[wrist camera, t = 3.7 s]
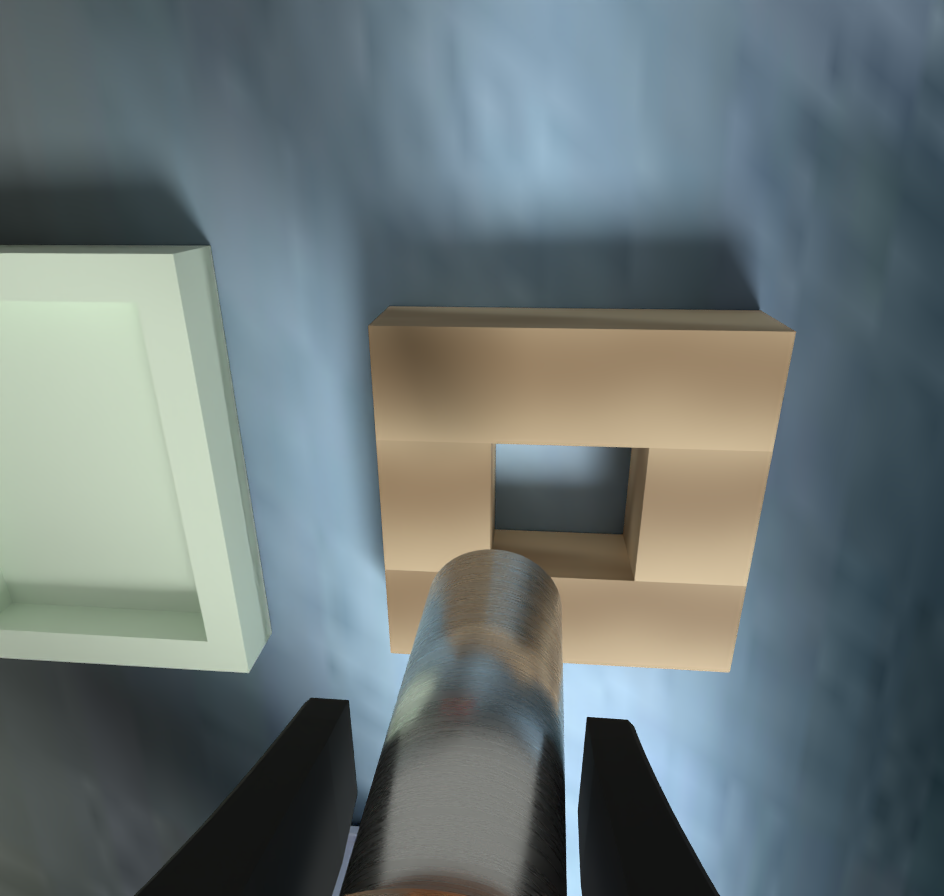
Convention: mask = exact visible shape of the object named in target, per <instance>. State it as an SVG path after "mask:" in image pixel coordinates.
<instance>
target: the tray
mask: <svg viewBox="0 0 944 896" xmlns="http://www.w3.org/2000/svg"><path fill="white" fill-rule="evenodd" d="M271 634H272V630H271V624H270V618H269V612H268V605H267V599H266V593H265V586H264V580H263V574H262V567H261V561H260V555H259V549H258V542H257V536H256V530H255V523H254V517H253V511H252V504H251V498H250V492H249V486H248V479H247V473H246V467H245V460H244V454H243V448H242V441H241V435H240V429H239V423H238V416H237V410H236V404H235V397H234V391H233V385H232V378H231V372H230V366H229V360H228V353H227V347H226V341H225V334H224V328H223V322H222V315H221V309H220V303H219V297H218V290H217V284H216V278H215V271H214V265H213V259H212V252H211V246H170V245H0V658H11V659H27V660H44V661H60V662H77V663H93V664H110V665H126V666H143V667H159V668H175V669H192V670H208V671H225V672H241V673H249V672H250V670H251V669H252V667H253V665H254V663H255V662H256V660H257V658H258V656H259V655H260V653H261V651H262V649H263V648H264V646H265V644H266V642H267V641H268V639H269V637H270V635H271Z"/></svg>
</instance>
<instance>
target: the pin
mask: <svg viewBox="0 0 944 896" xmlns="http://www.w3.org/2000/svg"><path fill="white" fill-rule="evenodd" d="M339 896H567V880H566V824H565V767H564V711H563V654H562V604H561V598H560V594H559V591H558V589H557V587H556V585H555V583H554V582H553V580H552V579H551V577H550V576H549V575H548V574H547V573H546V572H545V571H544V570H543V569H542V568H541V567H540V566H539V565H537V564H536V563H534V562H533V561H531V560H530V559H528V558H526V557H524V556H521V555H519V554H516V553H513V552H509V551H504V550H496V549H485V550H476V551H472V552H468V553H465V554H462V555H460V556H458V557H456V558H454V559H453V560H451V561H450V562H448V563H447V564H446V565H445V566H443V567H442V568H441V569H440V571H439V572H438V573H437V574H436V576H435V578H434V580H433V581H432V584H431V587H430V590H429V593H428V597H427V600H426V603H425V607H424V610H423V613H422V617H421V620H420V624H419V627H418V630H417V634H416V637H415V640H414V644H413V647H412V651H411V654H410V657H409V661H408V664H407V667H406V671H405V674H404V678H403V681H402V684H401V688H400V691H399V694H398V698H397V701H396V705H395V708H394V711H393V715H392V718H391V721H390V725H389V728H388V732H387V735H386V738H385V742H384V745H383V748H382V752H381V755H380V759H379V762H378V765H377V769H376V772H375V775H374V779H373V782H372V786H371V789H370V792H369V796H368V799H367V802H366V806H365V809H364V813H363V816H362V819H361V823H360V826H359V829H358V833H357V836H356V840H355V843H354V846H353V850H352V853H351V856H350V860H349V863H348V867H347V870H346V873H345V877H344V880H343V883H342V887H341V890H340V894H339Z"/></svg>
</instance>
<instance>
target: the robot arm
mask: <svg viewBox="0 0 944 896" xmlns="http://www.w3.org/2000/svg"><path fill="white" fill-rule="evenodd" d="M356 798H357V782H356V772H355V761H354V750H353V740H352V729H351V719H350V708H349V700H337V699H323V698H310V699H309V700H308V701H307V702H305V703H304V705H303V706H302V707H301V708H300V710H299V711H298V712H297V714H296V715H295V716H294V717H293V719H292V720H291V721H290V722H289V724H288V725H287V726H286V727H285V729H284V730H283V731H282V732H281V734H280V735H279V736H278V737H277V739H276V740H275V741H274V742H273V744H272V745H271V746H270V747H269V748H268V750H267V751H266V752H265V753H264V754H263V756H262V757H261V758H260V759H259V760H258V762H257V763H256V764H255V765H254V766H253V768H252V769H251V770H250V771H249V772H248V774H247V775H246V776H245V777H244V778H243V779H242V781H241V782H240V783H239V784H238V785H237V786H236V787H235V789H234V790H233V791H232V792H231V793H230V794H229V795H228V797H227V798H226V799H225V800H224V801H223V802H222V803H221V805H220V806H219V807H218V808H217V809H216V810H215V811H214V813H213V814H212V815H211V816H210V817H209V818H208V819H207V820H206V821H205V823H204V824H203V825H202V826H201V827H200V828H199V829H198V830H197V831H196V832H195V833H194V834H193V835H192V836H191V837H190V838H189V840H188V841H187V842H186V843H185V844H184V845H183V846H182V847H181V848H180V849H179V850H178V851H177V852H176V853H175V854H174V855H173V856H172V857H171V858H170V859H169V861H168V862H167V863H166V864H165V865H164V866H163V867H162V868H161V869H160V870H159V871H158V872H157V873H156V874H155V875H154V876H153V877H152V878H151V879H150V880H149V881H148V882H147V883H146V884H145V885H144V886H143V887H142V888H141V889H140V890H139V891H138V892H137V893H136V894H135V895H134V896H339V894H340V890H341V887H342V883H343V880H344V877H345V873H346V870H347V867H348V863H349V860H350V856H351V853H352V850H353V846H354V843H355V840H356V836H357V833H358V829H359V826H351V822H352V817H353V812H354V807H355V802H356ZM578 829H579V854H580V877H581V890H582V896H720V895H719V894H718V892H717V890H716V888H715V887H714V885H713V883H712V882H711V880H710V878H709V876H708V875H707V873H706V871H705V869H704V868H703V866H702V864H701V862H700V860H699V859H698V857H697V855H696V853H695V851H694V850H693V848H692V846H691V844H690V842H689V841H688V839H687V837H686V835H685V833H684V832H683V830H682V828H681V826H680V824H679V822H678V820H677V818H676V816H675V815H674V813H673V811H672V809H671V807H670V805H669V803H668V801H667V799H666V797H665V795H664V793H663V791H662V789H661V787H660V785H659V783H658V781H657V779H656V776H655V774H654V772H653V770H652V768H651V766H650V763H649V761H648V759H647V757H646V755H645V752H644V750H643V748H642V745H641V743H640V740H639V738H638V735H637V733H636V730H635V728H634V726H633V725H632V724H631V723H630V722H629V721H628V720H623V719H609V718H595V717H587V722H586V732H585V742H584V753H583V763H582V773H581V783H580V794H579V804H578Z"/></svg>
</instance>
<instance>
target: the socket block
mask: <svg viewBox="0 0 944 896" xmlns="http://www.w3.org/2000/svg"><path fill="white" fill-rule="evenodd" d="M368 331H369V346H370V360H371V374H372V389H373V403H374V418H375V432H376V446H377V461H378V475H379V490H380V504H381V518H382V533H383V547H384V562H385V576H386V590H387V605H388V619H389V634H390V648H391V653H399V654H411V651H412V647H413V644H414V640H415V637H416V634H417V630H418V627H419V624H420V620H421V617H422V613H423V610H424V607H425V603H426V600H427V597H428V593H429V590H430V587H431V584H432V581H433V580H434V578H435V576H436V574H437V573H438V572H439V571H440V569H441V568H442V567H443V566H445V565H446V564H447V563H448V562H450V561H451V560H453V559H454V558H456V557H458V556H460V555H462V554H465V553H468V552H472V551H476V550H485V549H496V550H504V551H509V552H513V553H516V554H519V555H521V556H524V557H526V558H528V559H530V560H531V561H533V562H534V563H536V564H537V565H539V566H540V567H541V568H542V569H543V570H544V571H545V572H546V573H547V574H548V575H549V576H550V577H551V579H552V580H553V582H554V583H555V585H556V587H557V589H558V591H559V594H560V598H561V604H562V654H563V663H575V664H592V665H610V666H627V667H645V668H663V669H680V670H698V671H715V672H730V668H731V663H732V658H733V653H734V647H735V642H736V637H737V632H738V627H739V622H740V617H741V611H742V606H743V601H744V596H745V591H746V586H747V581H748V575H749V570H750V565H751V560H752V555H753V550H754V545H755V540H756V534H757V529H758V524H759V519H760V514H761V509H762V504H763V498H764V493H765V488H766V483H767V478H768V473H769V468H770V462H771V457H772V452H773V447H774V442H775V437H776V432H777V427H778V421H779V416H780V411H781V406H782V401H783V396H784V391H785V385H786V380H787V375H788V370H789V365H790V360H791V355H792V349H793V344H794V339H795V334H796V331H794V330H792V329H791V328H789V327H787V326H786V325H784V324H782V323H781V322H779V321H777V320H776V319H774V318H772V317H771V316H769V315H767V314H766V313H764V312H762V311H761V310H676V309H588V308H500V307H413V306H389V307H388V308H387V309H386V310H385V311H384V312H383V313H381V314H380V315H379V316H378V317H377V318H376V319H375V320H374V321H373V322H372V323H371V324H369V325H368ZM496 444H529V445H563V446H598V447H632V449H631V459H630V469H629V479H628V489H627V499H626V509H625V519H624V529H623V534H599V533H574V532H549V531H524V530H499V529H495V467H496Z"/></svg>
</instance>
